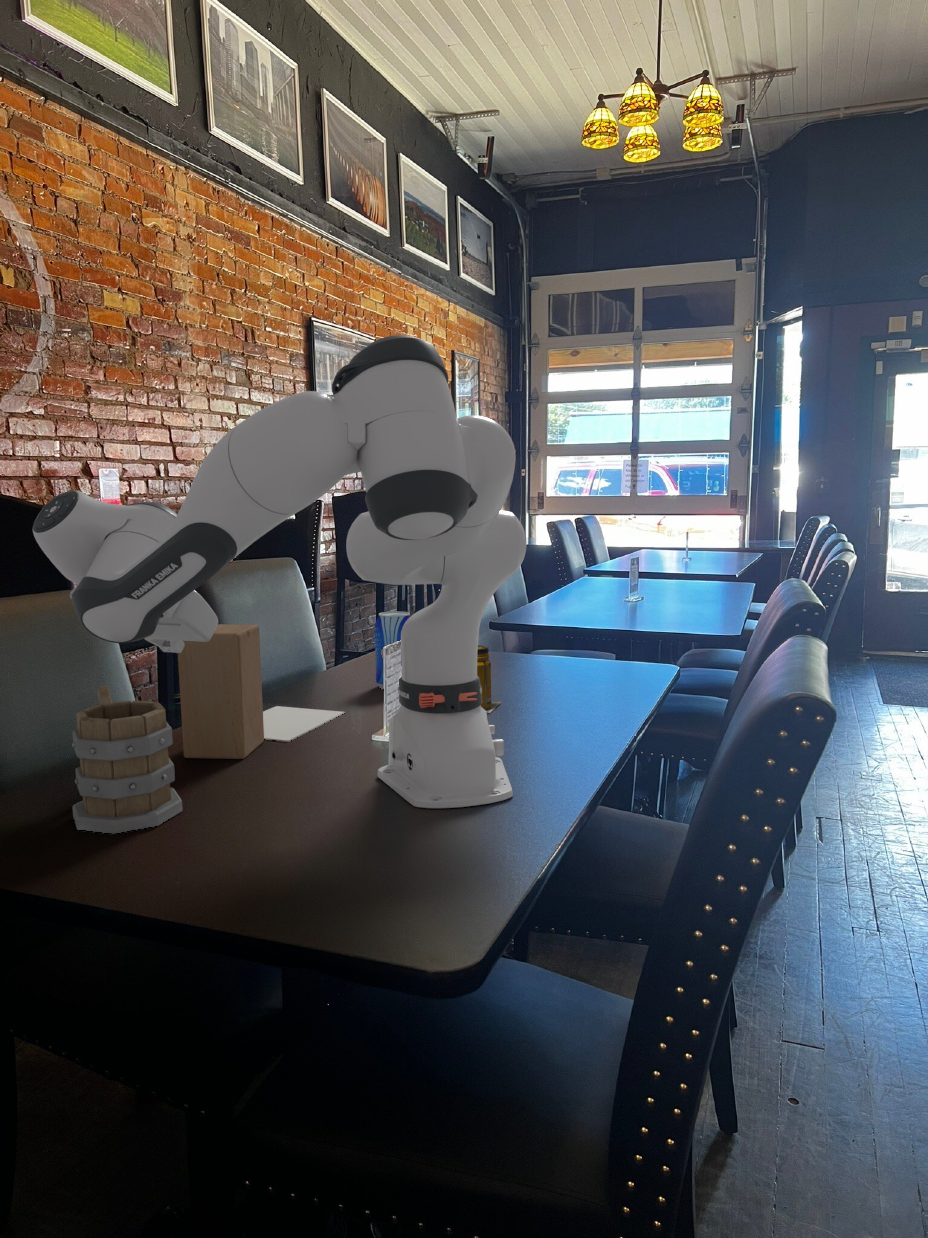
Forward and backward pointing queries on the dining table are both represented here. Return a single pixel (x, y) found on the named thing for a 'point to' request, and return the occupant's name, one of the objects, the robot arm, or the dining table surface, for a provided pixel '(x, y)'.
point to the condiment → (485, 678)
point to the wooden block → (222, 693)
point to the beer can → (387, 636)
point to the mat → (293, 722)
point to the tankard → (123, 766)
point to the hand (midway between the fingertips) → (174, 648)
